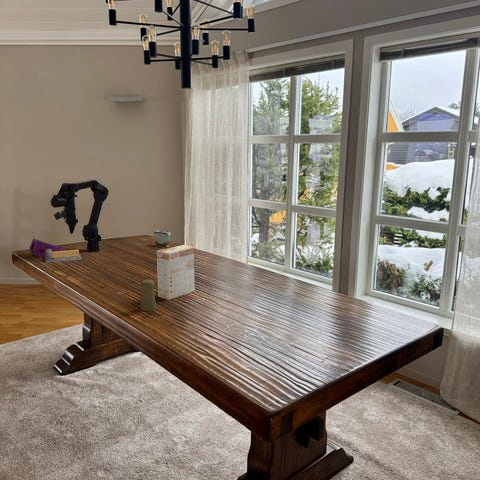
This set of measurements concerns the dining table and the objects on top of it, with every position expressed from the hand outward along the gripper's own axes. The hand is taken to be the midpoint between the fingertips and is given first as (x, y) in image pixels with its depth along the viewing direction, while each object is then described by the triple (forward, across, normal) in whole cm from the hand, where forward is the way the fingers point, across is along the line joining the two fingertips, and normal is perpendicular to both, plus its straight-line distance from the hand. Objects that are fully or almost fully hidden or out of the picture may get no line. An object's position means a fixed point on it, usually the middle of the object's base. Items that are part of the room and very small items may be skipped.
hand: (71, 233), depth 245 cm
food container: (+13, -6, +55) cm, 57 cm away
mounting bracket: (+14, -10, -12) cm, 20 cm away
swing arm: (+12, +6, -6) cm, 14 cm away
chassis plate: (+13, +3, -6) cm, 14 cm away
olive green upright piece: (+13, +101, +18) cm, 103 cm away
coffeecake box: (+13, +89, +32) cm, 96 cm away
